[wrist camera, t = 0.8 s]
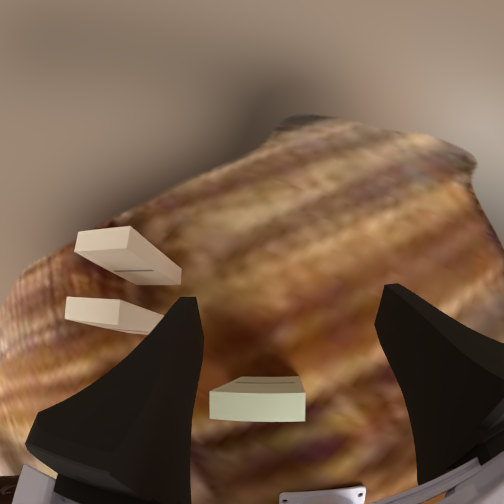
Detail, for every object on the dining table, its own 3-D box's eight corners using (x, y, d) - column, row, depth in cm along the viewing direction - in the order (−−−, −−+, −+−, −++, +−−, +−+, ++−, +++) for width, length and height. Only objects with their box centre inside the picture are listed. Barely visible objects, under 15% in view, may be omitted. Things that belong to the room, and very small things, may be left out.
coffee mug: (35, 512, 16) (-5, 523, 7) (12, 467, 19) (-32, 473, 10) (73, 520, 17) (29, 540, 7) (45, 469, 20) (-6, 481, 11)
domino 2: (178, 337, 25) (117, 325, 15) (132, 333, 25) (64, 318, 16) (178, 319, 25) (120, 299, 16) (133, 317, 26) (66, 296, 17)
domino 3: (299, 393, 22) (304, 421, 12) (241, 394, 22) (209, 419, 13) (299, 375, 22) (305, 392, 13) (241, 376, 23) (209, 390, 14)
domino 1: (180, 285, 26) (126, 248, 17) (136, 285, 27) (74, 251, 18) (181, 268, 27) (130, 225, 18) (138, 270, 28) (78, 231, 18)
